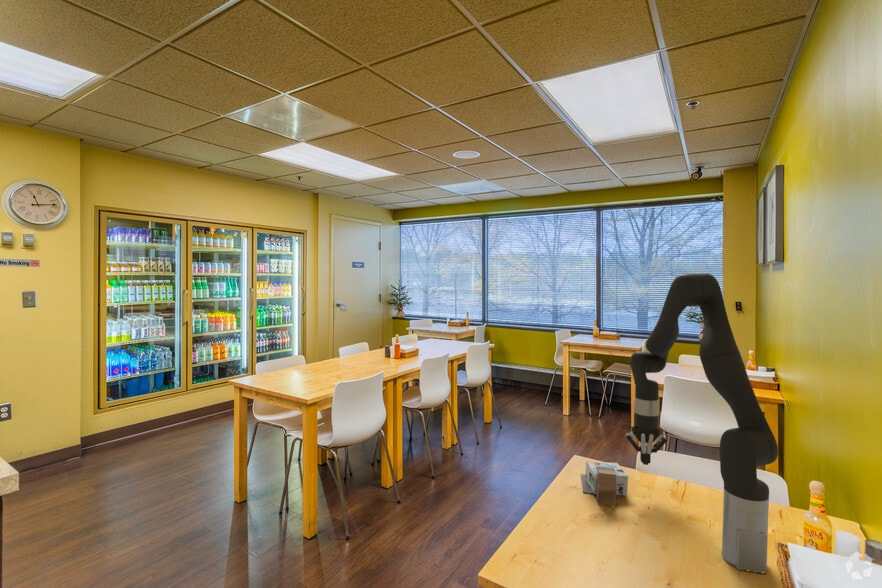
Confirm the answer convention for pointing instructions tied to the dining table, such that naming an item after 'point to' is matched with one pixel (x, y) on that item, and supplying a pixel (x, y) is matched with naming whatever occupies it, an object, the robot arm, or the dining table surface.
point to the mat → (587, 486)
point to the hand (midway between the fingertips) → (645, 463)
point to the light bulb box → (620, 474)
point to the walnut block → (606, 486)
